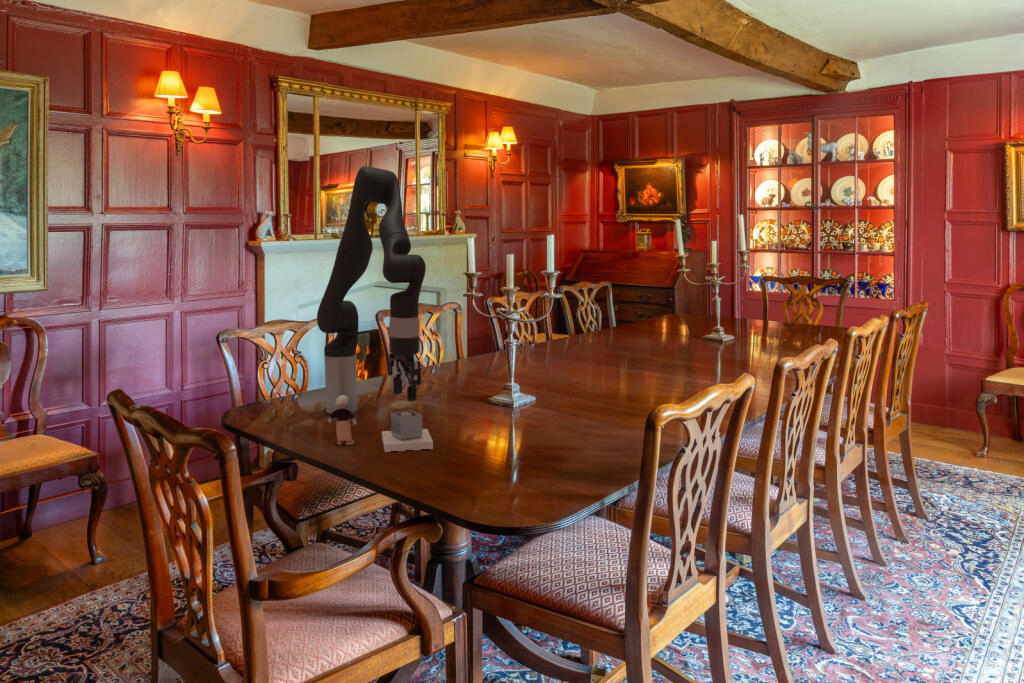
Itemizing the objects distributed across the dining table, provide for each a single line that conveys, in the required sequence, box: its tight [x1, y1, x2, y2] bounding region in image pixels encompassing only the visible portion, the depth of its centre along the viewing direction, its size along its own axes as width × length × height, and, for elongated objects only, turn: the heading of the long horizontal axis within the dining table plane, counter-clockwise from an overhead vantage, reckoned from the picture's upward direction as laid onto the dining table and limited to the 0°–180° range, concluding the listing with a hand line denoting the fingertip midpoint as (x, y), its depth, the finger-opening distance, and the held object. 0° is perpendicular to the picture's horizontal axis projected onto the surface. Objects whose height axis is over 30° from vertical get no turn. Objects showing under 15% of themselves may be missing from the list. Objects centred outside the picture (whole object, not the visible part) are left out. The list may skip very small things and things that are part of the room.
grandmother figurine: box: [327, 395, 358, 446], centre depth 194 cm, size 8×4×13 cm, turn 92°
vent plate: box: [381, 412, 434, 453], centre depth 194 cm, size 12×12×8 cm
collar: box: [390, 409, 423, 439], centre depth 194 cm, size 6×6×6 cm
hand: (404, 396), depth 193 cm, fingers open, 8 cm apart
